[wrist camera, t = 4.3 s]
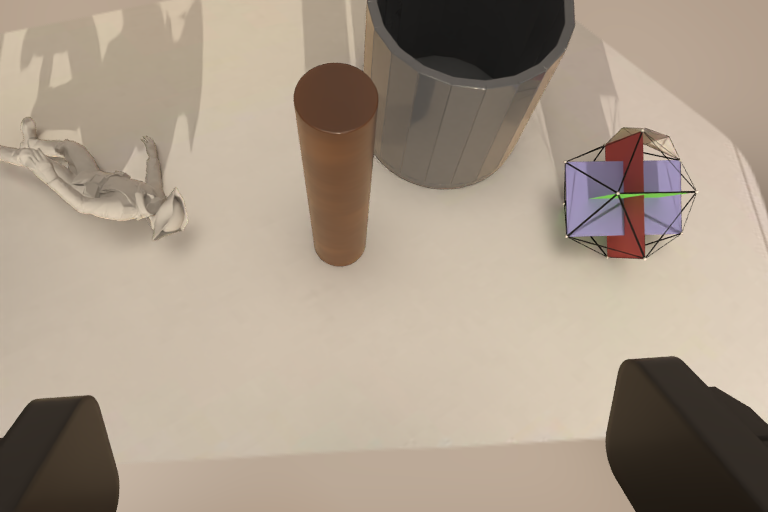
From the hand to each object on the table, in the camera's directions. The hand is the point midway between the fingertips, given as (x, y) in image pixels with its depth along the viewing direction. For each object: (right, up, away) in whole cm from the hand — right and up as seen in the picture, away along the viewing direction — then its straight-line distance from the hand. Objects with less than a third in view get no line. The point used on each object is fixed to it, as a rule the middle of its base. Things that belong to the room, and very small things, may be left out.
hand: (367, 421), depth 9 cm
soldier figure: (-16, +6, +25) cm, 30 cm away
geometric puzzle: (+13, +5, +26) cm, 30 cm away
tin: (+4, +11, +28) cm, 30 cm away
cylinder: (-2, +3, +24) cm, 25 cm away
